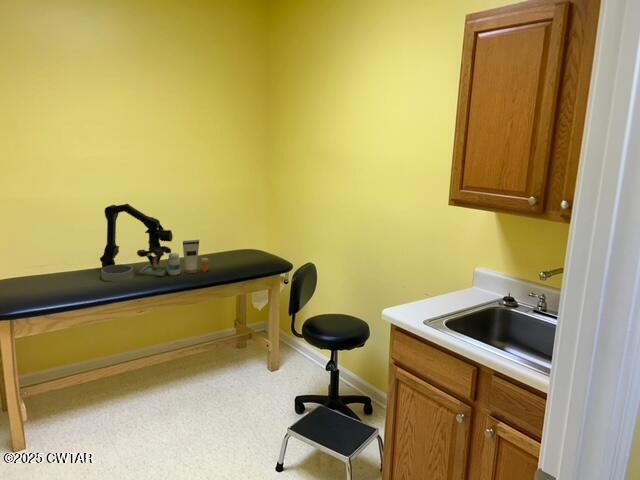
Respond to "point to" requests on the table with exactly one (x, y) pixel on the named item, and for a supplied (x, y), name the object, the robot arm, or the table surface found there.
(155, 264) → the dowel pin
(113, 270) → the translucent round bowl
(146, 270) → the tray
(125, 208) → the robot arm
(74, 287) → the table surface
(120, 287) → the table surface
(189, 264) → the toiletry set
